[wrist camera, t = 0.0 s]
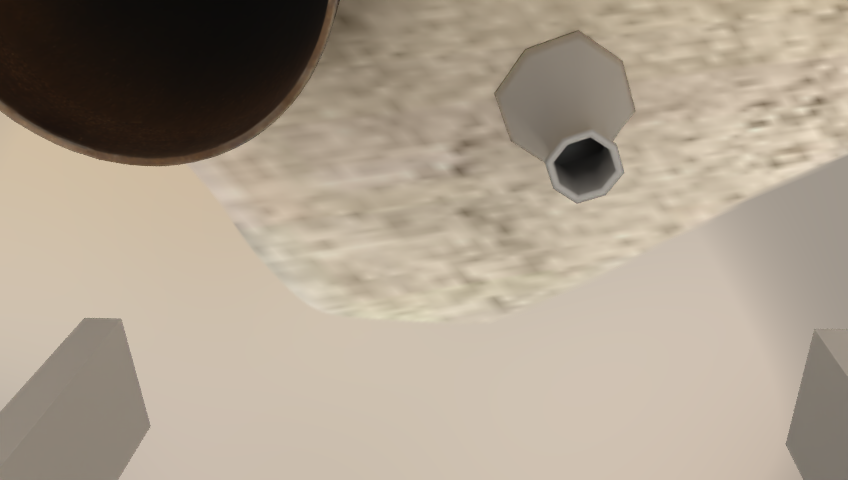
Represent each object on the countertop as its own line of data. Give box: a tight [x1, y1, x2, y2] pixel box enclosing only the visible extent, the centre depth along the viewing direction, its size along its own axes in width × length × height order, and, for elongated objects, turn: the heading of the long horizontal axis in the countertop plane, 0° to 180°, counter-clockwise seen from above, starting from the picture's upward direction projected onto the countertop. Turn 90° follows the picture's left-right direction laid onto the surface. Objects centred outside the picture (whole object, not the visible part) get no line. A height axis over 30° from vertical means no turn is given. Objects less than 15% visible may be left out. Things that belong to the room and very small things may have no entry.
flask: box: [495, 31, 635, 203], centre depth 35 cm, size 7×7×10 cm
